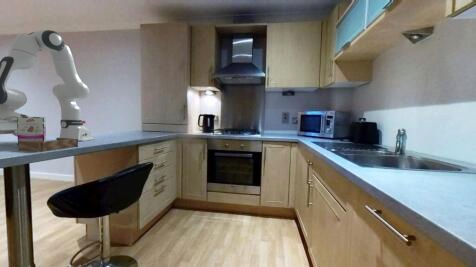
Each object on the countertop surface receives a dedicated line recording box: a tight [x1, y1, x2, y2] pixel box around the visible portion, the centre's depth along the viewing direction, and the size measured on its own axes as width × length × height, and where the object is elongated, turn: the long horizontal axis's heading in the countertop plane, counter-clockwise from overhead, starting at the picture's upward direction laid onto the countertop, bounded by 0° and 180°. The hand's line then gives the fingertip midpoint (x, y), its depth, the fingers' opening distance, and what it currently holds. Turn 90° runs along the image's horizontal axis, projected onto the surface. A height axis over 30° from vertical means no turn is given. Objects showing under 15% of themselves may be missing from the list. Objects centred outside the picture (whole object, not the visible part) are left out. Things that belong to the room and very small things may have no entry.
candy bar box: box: [17, 116, 47, 149], centre depth 128 cm, size 11×5×16 cm, turn 120°
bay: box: [17, 137, 79, 152], centre depth 126 cm, size 21×13×4 cm, turn 170°
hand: (23, 137), depth 129 cm, fingers closed
